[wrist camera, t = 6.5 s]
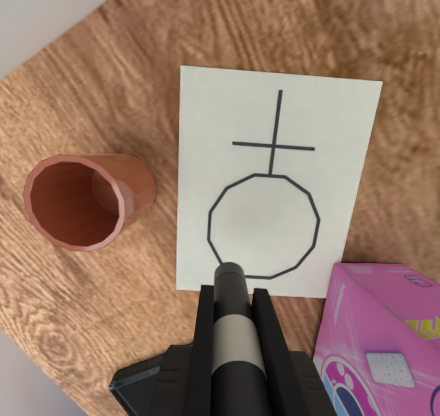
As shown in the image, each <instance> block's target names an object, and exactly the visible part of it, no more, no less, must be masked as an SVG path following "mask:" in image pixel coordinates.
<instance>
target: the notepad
mask: <svg viewBox="0 0 440 416" xmlns="http://www.w3.org/2000/svg"><path fill="white" fill-rule="evenodd" d="M382 83H383V82H381V81H369V80H357V79H344V78H332V77H319V76H307V75H294V74H282V73H270V72H257V71H245V70H232V69H220V68H207V67H195V66H183V65H181V66H180V110H179V157H178V204H177V251H176V290H190V291H200V289H201V284H202V285H214V273H215V270H216V268H217V267H218V266H219V265H221V264H222V263H225V262H234V263H237V264H238V265H240V266H241V267H242V269H243V271H244V274H245V279H246V284H247V289H248V294H253V291H254V288H264V289H267V290H268V293H269V295H276V296H293V297H310V298H327V294H328V291H329V286H330V282H331V277H332V273H333V268H334V265H335V264H336V263H341V259H342V255H343V251H344V247H345V242H346V238H347V234H348V229H349V225H350V221H351V216H352V212H353V208H354V204H355V199H356V195H357V191H358V186H359V182H360V178H361V173H362V169H363V165H364V161H365V156H366V152H367V148H368V143H369V139H370V135H371V131H372V126H373V122H374V118H375V113H376V109H377V105H378V100H379V96H380V92H381V88H382Z"/></svg>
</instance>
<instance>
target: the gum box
mask: <svg viewBox="0 0 440 416" xmlns="http://www.w3.org/2000/svg"><path fill="white" fill-rule="evenodd" d="M313 362H314V364H315V366H316V368H317V371H318V373H319V375H320V379H321V380H322V382H323V384H324V386H325V390H326V391H327V393H328V395H329V397H330V400H331V402H332V404H333V406H334V409H335V411H336V413H337V415H338V416H440V284H439V283H437V282H435V281H433V280H432V279H430V278H428V277H426V276H424V275H422V274H421V273H419V272H417V271H415V270H414V269H412V268H410V267H408V266H406V265H404V264H382V263H336V264H335V265H334V268H333V273H332V277H331V282H330V286H329V291H328V294H327V298H326V302H325V306H324V311H323V318H322V322H321V326H320V330H319V333H318V337H317V342H316V347H315V354H314V358H313Z"/></svg>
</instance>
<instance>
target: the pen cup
mask: <svg viewBox="0 0 440 416" xmlns="http://www.w3.org/2000/svg"><path fill="white" fill-rule="evenodd" d="M156 193H157V187H156V181H155V178H154V176H153V173H152V172H151V170H150V169H149V167H148V166H147V165H146V164H145V163H144V162H143V161H141V160H140V159H138V158H136V157H134V156H132V155H129V154H123V153H90V154H59V155H56V156H53V157H50V158H48V159H45V160H42V161H41V162H39V164H38V165H37V166H36V167H35V168H34V169H33V170H32V171H31V172H30V173H29V174H28V177H27V180H26V184H25V187H24V191H23V196H24V202H25V209H26V213H27V215H28V216H29V218H30V220H31V222H32V223H33V225H34V227H35V228H36V229H37V231H38V232H39V233H41V234H42V235H43V236H44V237H45V238H46V239H48V240H49V241H50V242H51V243H53V244H55V245H57V246H60V247H62V248H65V249H67V250H69V251H81V252H91V251H94V250H97V249H100V248H103V247H106V246H107V245H109V244H110V243H111V242H112V241H113V240H114V239H116V238H117V237H118V236H119V235H120V234H122V233H123V232H124V231H125V230H126V229H127V228H129V227H130V226H131V225H132V224H133V223H134V222H136V221H137V220H138V219H139V218H140V217H141V216H143V215H144V214H145V213H146V212H147V211H148V210H149V209H150V208H151V206H152V205H153V203H154V201H155V198H156Z"/></svg>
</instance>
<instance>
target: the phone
mask: <svg viewBox="0 0 440 416" xmlns="http://www.w3.org/2000/svg"><path fill="white" fill-rule="evenodd" d="M188 346H193V344H190V345H188ZM162 358H163V355H161V356H158V357H156V358H153V359H150V360H147V361H145V362H142V363H139V364H137V365H134V366H131V367H129V368H126V369H123V370H121V371H118V372H116V373H115V374H114V376H113V378H112V381H111V383H110V385H109V390H110V392H111V393H112V394H113V395H114V397H115V398H116V399H117V401H118V402H119V403H120V405H121V406H122V407H123V409H124V410H125V411H126V412H127V414H128V415H129V416H147V412H148V409H149V405H150V401H151V398H152V394H153V390H154V387H155V383H156V380H157V376H158V372H159V369H160V365H161V361H162Z"/></svg>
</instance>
